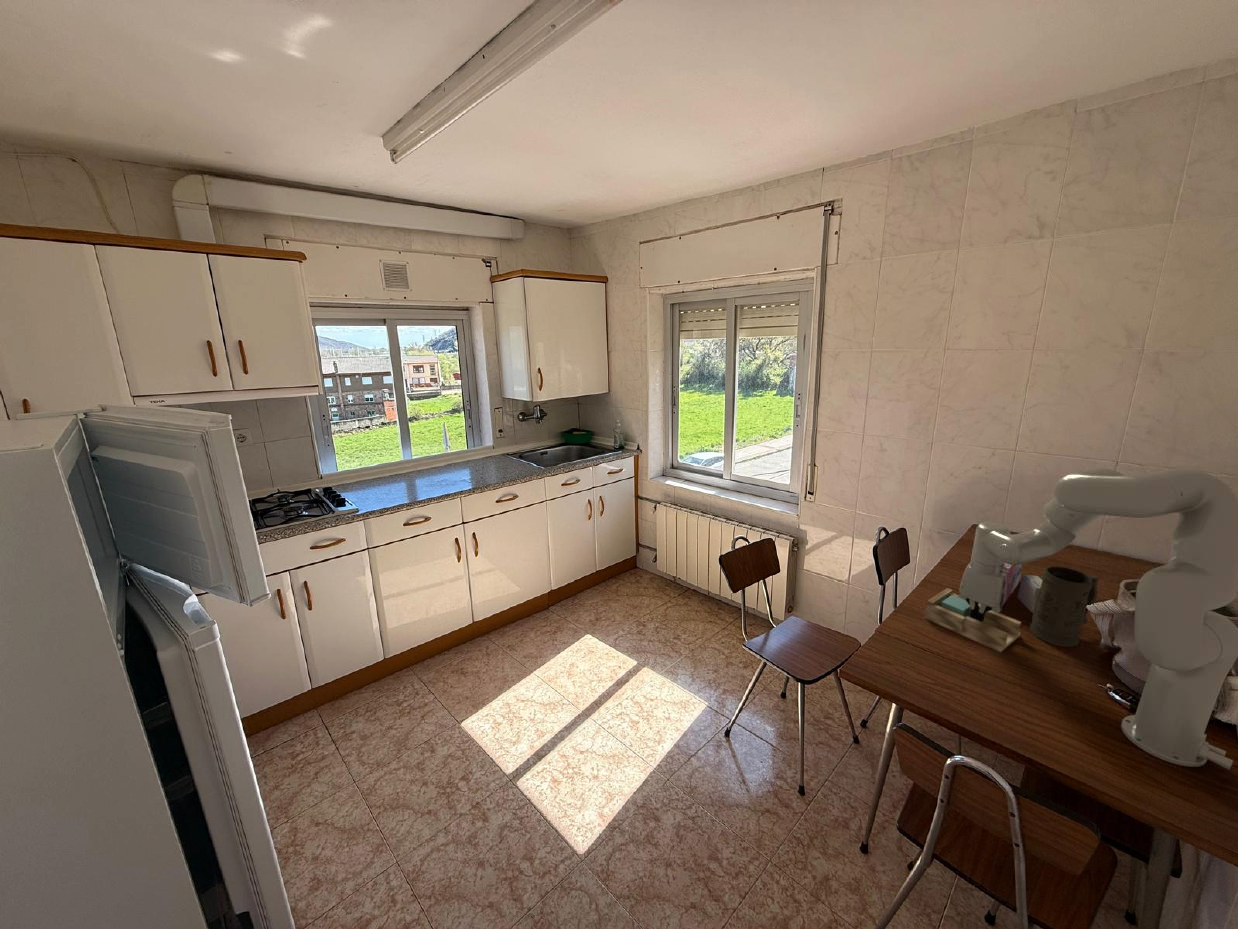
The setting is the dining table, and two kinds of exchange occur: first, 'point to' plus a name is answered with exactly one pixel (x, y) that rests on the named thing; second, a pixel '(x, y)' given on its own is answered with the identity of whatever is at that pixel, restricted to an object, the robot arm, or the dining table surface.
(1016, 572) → the gum box
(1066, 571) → the beer stein
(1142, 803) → the dining table surface
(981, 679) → the dining table surface
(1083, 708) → the dining table surface
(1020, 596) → the medicine box
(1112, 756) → the dining table surface
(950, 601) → the block
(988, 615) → the chute
